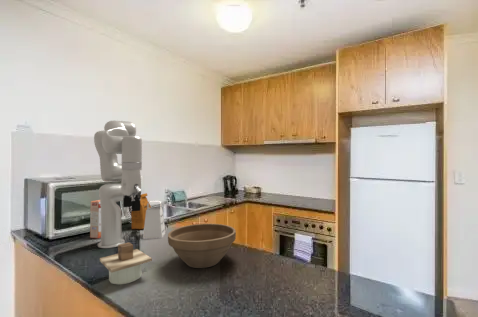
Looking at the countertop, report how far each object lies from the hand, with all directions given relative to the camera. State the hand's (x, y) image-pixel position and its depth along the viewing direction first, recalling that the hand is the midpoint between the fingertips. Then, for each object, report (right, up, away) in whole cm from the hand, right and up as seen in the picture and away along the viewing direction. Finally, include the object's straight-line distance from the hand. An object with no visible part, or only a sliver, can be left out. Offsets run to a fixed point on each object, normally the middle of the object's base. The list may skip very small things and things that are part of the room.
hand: (131, 208), depth 102 cm
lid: (+1, -18, -8) cm, 20 cm away
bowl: (+1, -24, -8) cm, 25 cm away
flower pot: (+28, -24, +6) cm, 37 cm away
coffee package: (-20, -25, +62) cm, 70 cm away
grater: (-5, -25, +44) cm, 51 cm away
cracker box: (-36, -25, +46) cm, 64 cm away
